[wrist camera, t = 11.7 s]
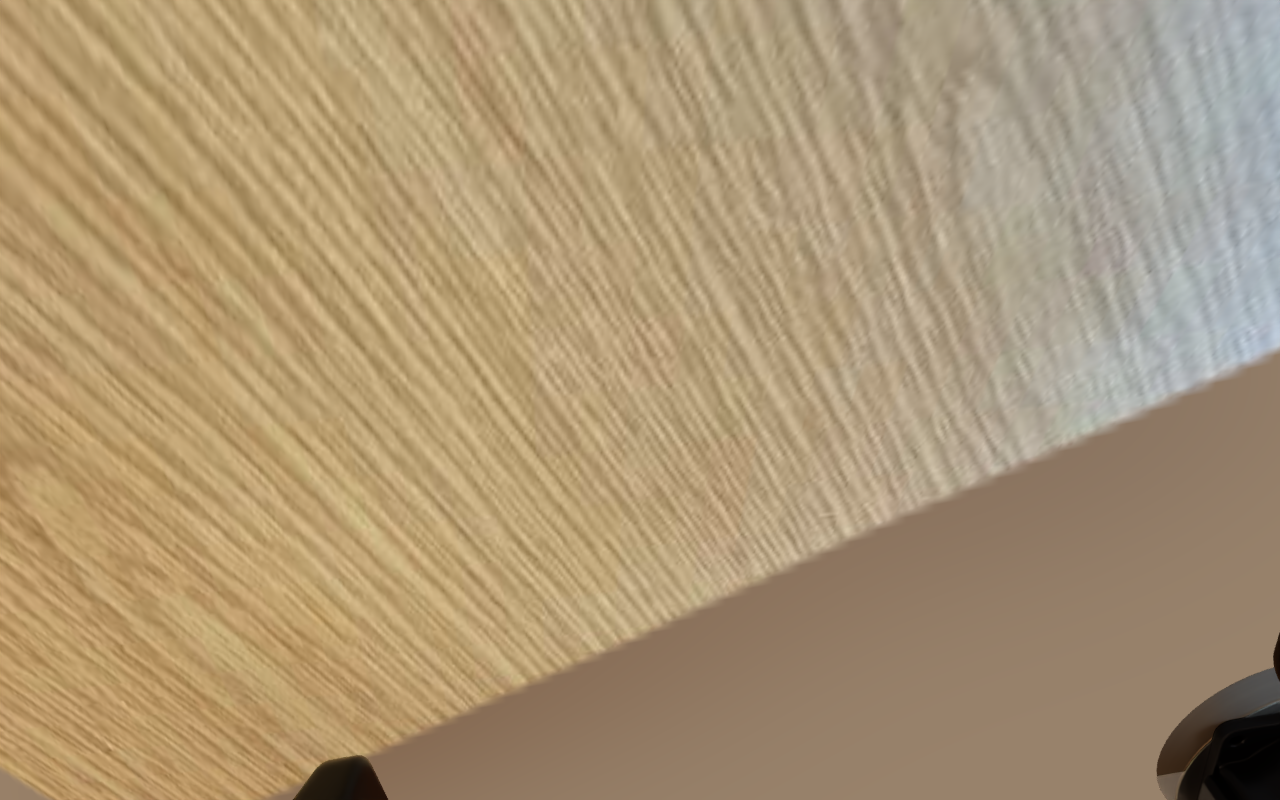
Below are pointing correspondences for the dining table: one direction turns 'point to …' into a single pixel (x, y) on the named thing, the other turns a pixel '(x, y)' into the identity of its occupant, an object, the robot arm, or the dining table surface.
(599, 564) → the dining table surface
